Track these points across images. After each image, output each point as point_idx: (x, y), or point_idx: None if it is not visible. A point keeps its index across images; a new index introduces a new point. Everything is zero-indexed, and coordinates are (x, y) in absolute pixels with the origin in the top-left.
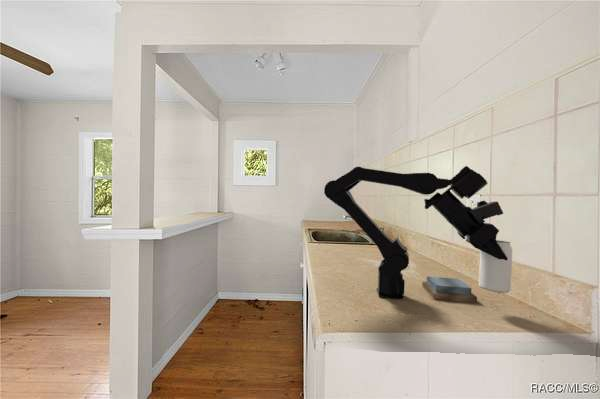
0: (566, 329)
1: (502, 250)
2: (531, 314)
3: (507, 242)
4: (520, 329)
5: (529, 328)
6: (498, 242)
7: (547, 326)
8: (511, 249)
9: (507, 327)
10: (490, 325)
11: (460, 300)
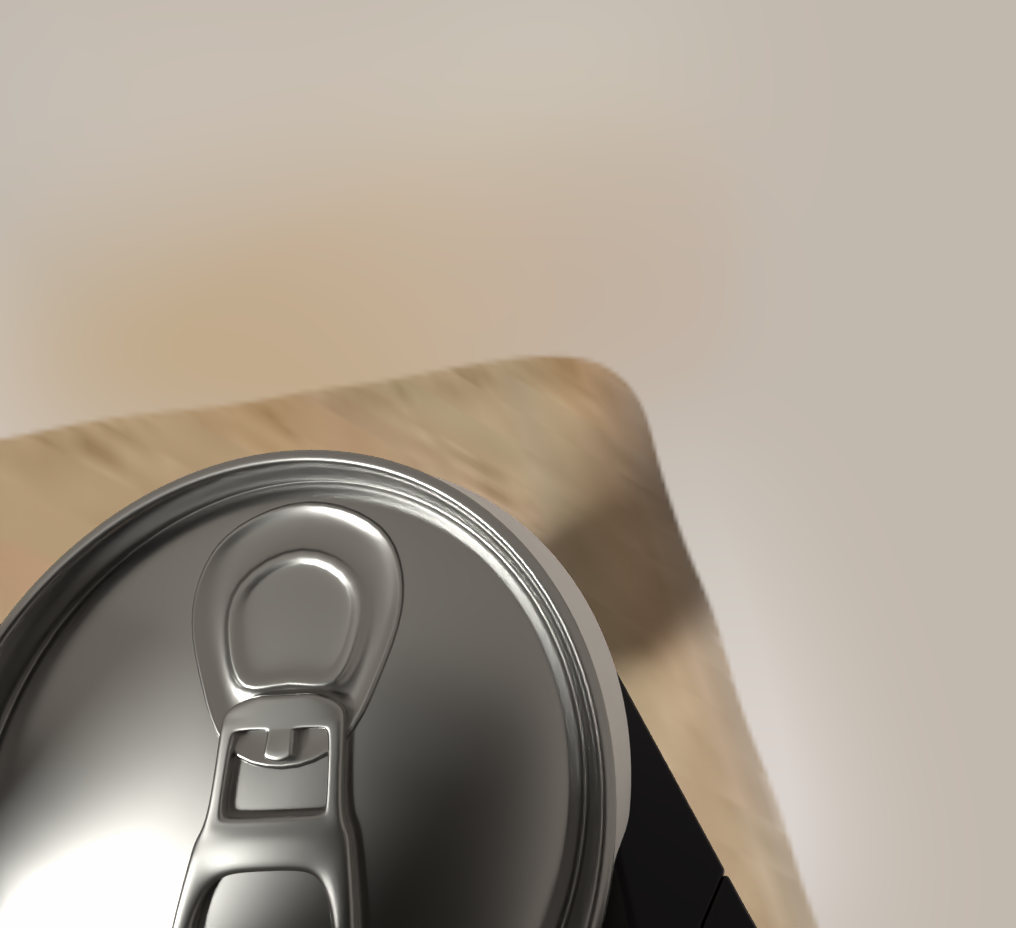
0: (620, 415)
1: (673, 784)
2: (461, 466)
3: (568, 617)
4: (697, 653)
5: (667, 594)
6: (595, 891)
7: (610, 483)
8: (534, 537)
9: (694, 717)
10: (699, 814)
11: None
